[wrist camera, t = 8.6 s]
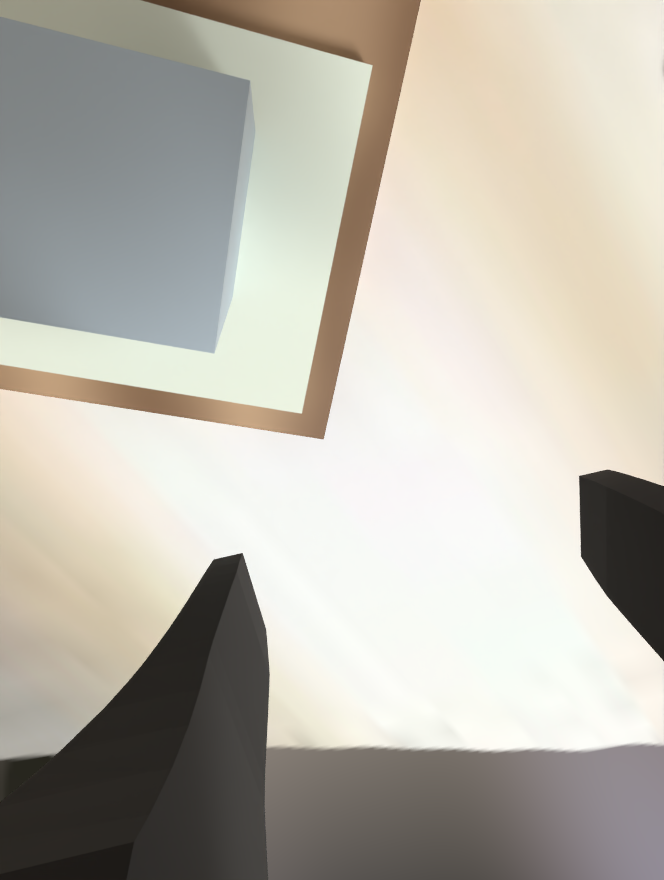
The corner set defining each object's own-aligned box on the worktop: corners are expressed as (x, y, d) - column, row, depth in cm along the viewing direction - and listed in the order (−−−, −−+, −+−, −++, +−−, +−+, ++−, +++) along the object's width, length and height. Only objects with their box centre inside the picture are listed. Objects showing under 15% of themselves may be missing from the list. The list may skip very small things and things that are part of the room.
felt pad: (368, 70, 16) (372, 65, 15) (300, 407, 19) (301, 413, 19) (-24, -40, 14) (-35, -49, 13) (-20, 354, 18) (-30, 359, 17)
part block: (255, 131, 16) (250, 80, 9) (232, 297, 17) (214, 353, 11) (81, 89, 15) (-58, 1, 8) (74, 267, 16) (-48, 308, 10)
